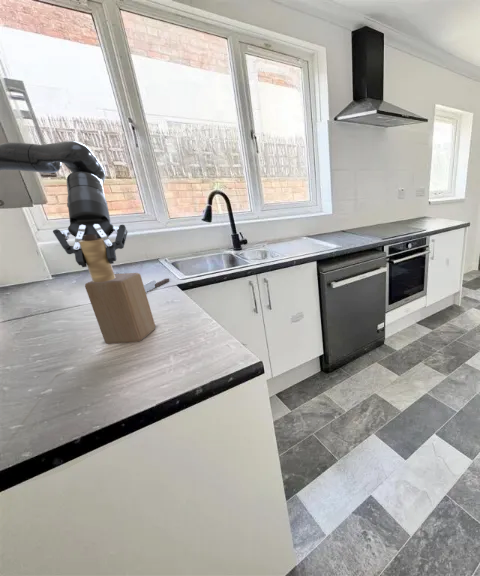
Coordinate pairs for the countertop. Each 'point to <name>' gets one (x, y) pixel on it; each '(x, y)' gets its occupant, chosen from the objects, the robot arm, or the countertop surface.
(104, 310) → the block
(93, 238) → the pepper mill
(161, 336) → the countertop surface
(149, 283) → the kitchen knife
